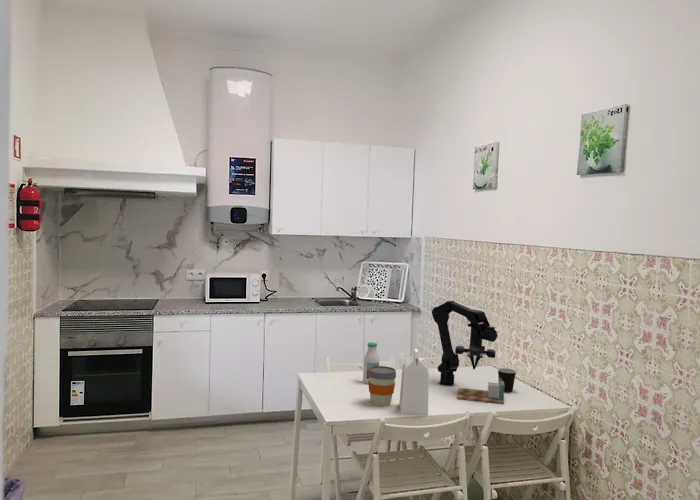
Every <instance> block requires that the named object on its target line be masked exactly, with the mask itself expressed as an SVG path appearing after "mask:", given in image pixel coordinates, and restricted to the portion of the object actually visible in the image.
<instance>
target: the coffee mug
mask: <svg viewBox="0 0 700 500" xmlns="http://www.w3.org/2000/svg"><path fill="white" fill-rule="evenodd" d="M497 374H498V375H497V376H498V382H499V381H504V385H505V387H504V393H513V390H514V386H515V379H516V374H517V370H515V369H512V368H507V367H506V368H502V367H501V368H498V369H497Z"/></svg>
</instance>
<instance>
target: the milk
mask: <svg viewBox="0 0 700 500" xmlns="http://www.w3.org/2000/svg"><path fill="white" fill-rule="evenodd" d="M401 369H402V371H401V382H400V391H399V392H400V393H399V401H398V402H399V410H400V415H401V414H404V415H405V414H406V415H422V416H423V415H424V416H425V415H426V416H428V415H429V387H430V386H429V385H430V381H429V379H430V378H429V377H430V375H429V368H428V365H427V361H426V360H425V359H424V358H423V357H420V356H419V349H418V348H414V349H413V354H412V355H411V356H410V357H408V359H406V360H405V361H404V362H403V363H402V367H401Z"/></svg>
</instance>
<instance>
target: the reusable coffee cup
mask: <svg viewBox="0 0 700 500" xmlns="http://www.w3.org/2000/svg"><path fill="white" fill-rule="evenodd" d="M368 376H369V381H368V384H367V385H368V392H369V395H370V396H369V397H370V403H371V405H373V406H378V407H387V406H390V405H391V404H392V398H393V394H394V393H395V392H394V391H395V387H396V382H395V381H396V378H397V370H396V369H395V368H394V367H390V366H385V365H379V366H374V367H370V368H369V371H368Z"/></svg>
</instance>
